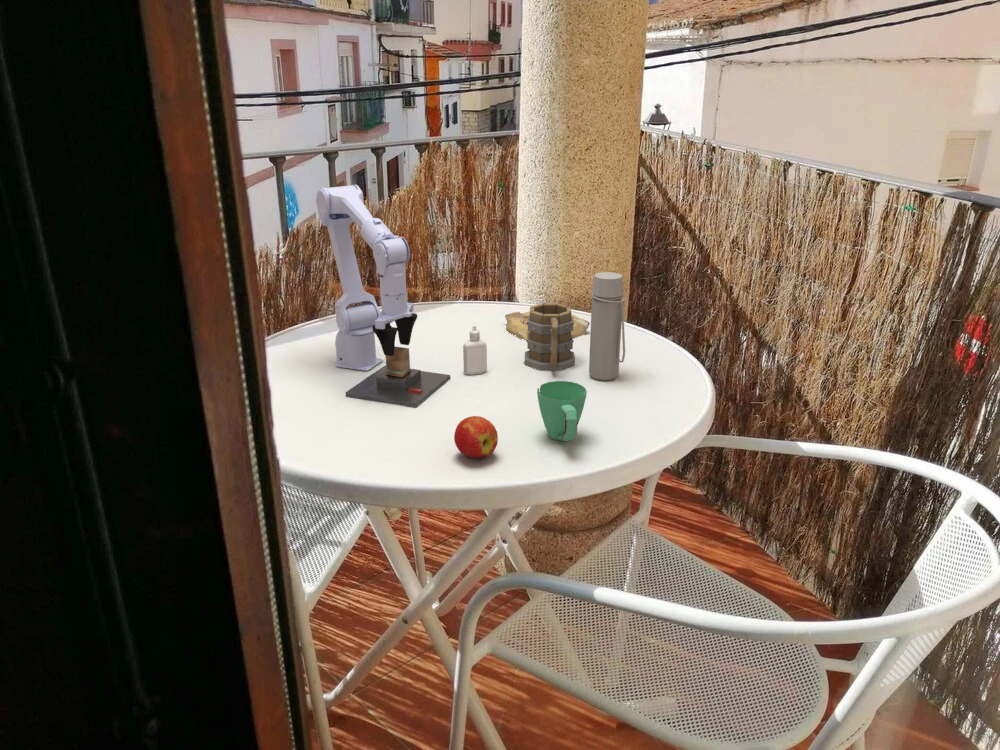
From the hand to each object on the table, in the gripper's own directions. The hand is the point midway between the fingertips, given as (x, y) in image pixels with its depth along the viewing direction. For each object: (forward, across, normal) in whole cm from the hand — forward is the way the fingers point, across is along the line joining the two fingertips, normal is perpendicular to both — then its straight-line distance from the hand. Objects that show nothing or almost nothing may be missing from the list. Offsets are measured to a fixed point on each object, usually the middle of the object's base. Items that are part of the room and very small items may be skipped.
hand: (397, 349), depth 175 cm
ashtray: (+10, +53, -19) cm, 57 cm away
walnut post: (+6, 0, 0) cm, 6 cm away
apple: (+10, -25, -30) cm, 40 cm away
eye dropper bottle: (+10, +15, -13) cm, 22 cm away
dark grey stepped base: (+9, 0, 0) cm, 9 cm away
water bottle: (+10, +23, -44) cm, 51 cm away
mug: (+10, -13, -44) cm, 47 cm away
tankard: (+10, +25, -29) cm, 40 cm away
